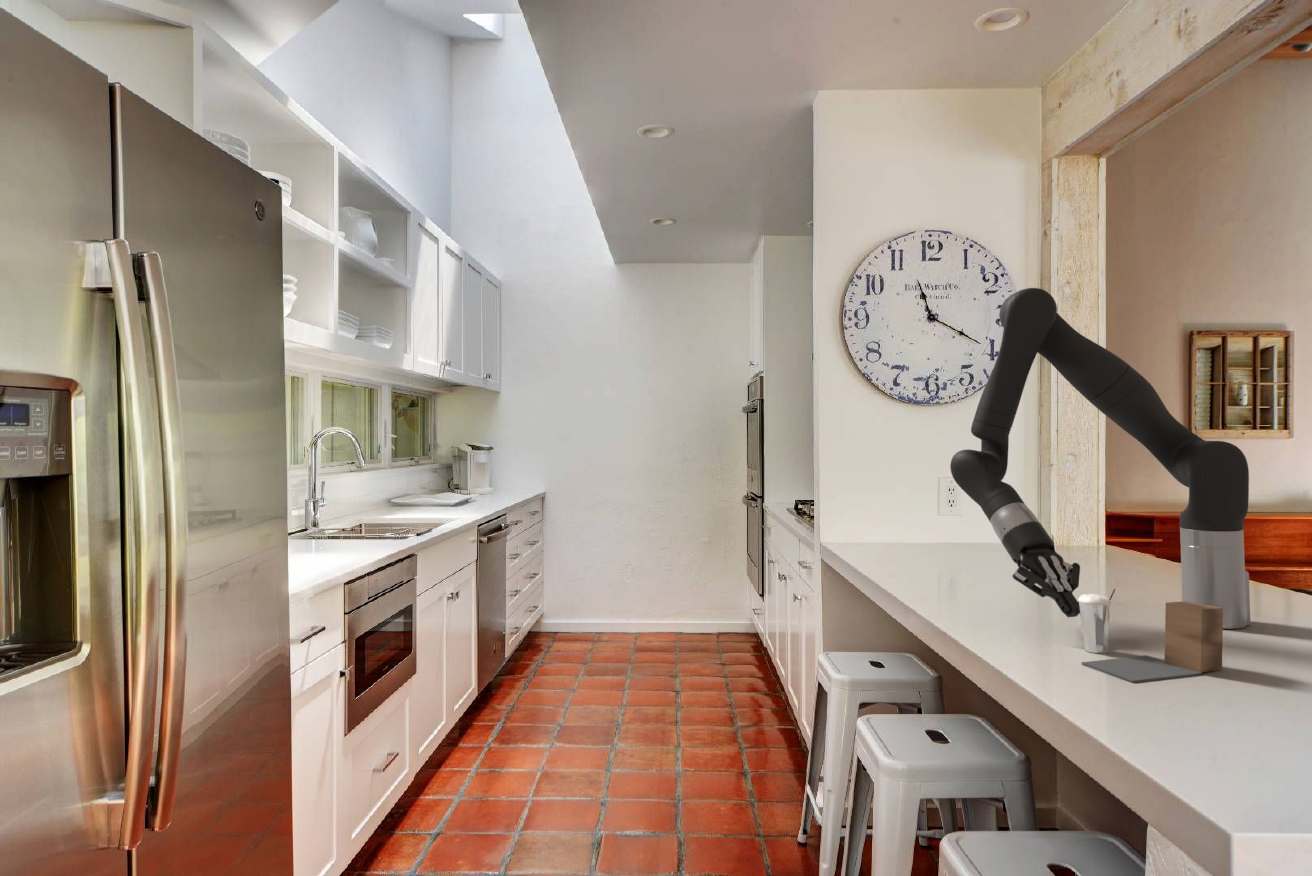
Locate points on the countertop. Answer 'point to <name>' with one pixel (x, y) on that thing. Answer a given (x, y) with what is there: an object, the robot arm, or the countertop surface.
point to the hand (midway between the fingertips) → (1075, 614)
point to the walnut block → (1194, 636)
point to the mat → (1140, 669)
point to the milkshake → (1095, 621)
